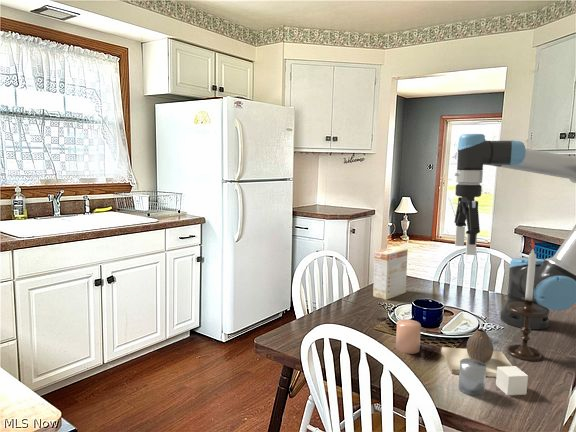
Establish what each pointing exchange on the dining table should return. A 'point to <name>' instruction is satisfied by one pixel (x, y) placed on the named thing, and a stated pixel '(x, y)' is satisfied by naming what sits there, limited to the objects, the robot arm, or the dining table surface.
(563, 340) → the dining table surface
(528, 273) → the candlestick
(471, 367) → the grey tin
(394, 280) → the coffeecake box
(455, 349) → the birch board
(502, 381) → the cream block
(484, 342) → the vase
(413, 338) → the pink pillar candle
